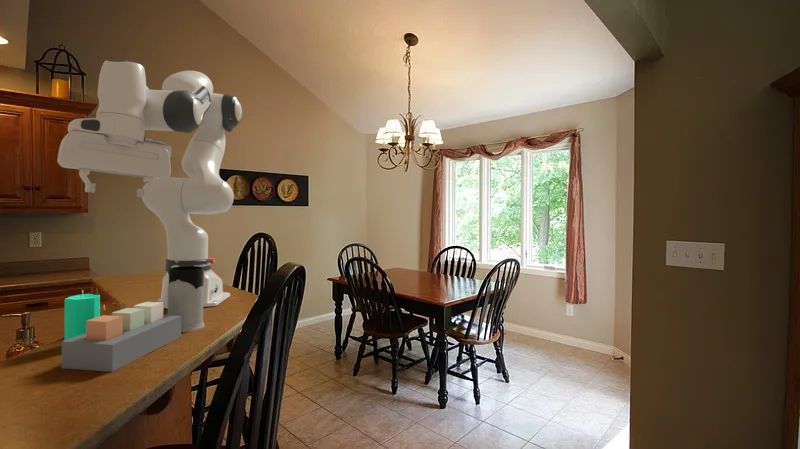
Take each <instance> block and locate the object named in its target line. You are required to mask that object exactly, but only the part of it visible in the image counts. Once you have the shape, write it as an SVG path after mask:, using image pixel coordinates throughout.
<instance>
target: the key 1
mask: <svg viewBox="0 0 800 449" xmlns="http://www.w3.org/2000/svg"><path fill="white" fill-rule="evenodd" d="M122 334H123V316H112V315H105V314H103V315H100V317H97V318H93V319H90V320H87V321H86V340H100V341H107V340H110V339H112V338H115V337H117V336H120V335H122Z"/></svg>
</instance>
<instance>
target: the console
mask: <svg viewBox="0 0 800 449" xmlns="http://www.w3.org/2000/svg"><path fill="white" fill-rule="evenodd" d="M181 337H182V333H181V316H172V315H168V314H167V315H166V314H163V318H162V319H160V320H157V321H155V322H152V323H144V326H142V327H140V328H137V329H135V330H132V331H123V334H122V335H120V336H117V337H115V338H112V339H110V340H107V341H100V340H86V333H85V334H82V335H79V336H76V337H73V338H70V339H68V340H65V339H64V340H63V341H61V369H67V370H68V369H69V370H81V371H82V370H83V371H96V372H97V371H98V372H112V373H113V372H114V371H115V372H116V371H117V370H119V369H121V368H124V367H125V366H126V365H129V364H131V363H133V362H134V361H136V360H139V359H140V358H142V357H145V356H146V354H147V355H149V354H150V352H151V353H152V351H153V352H154V350H155V351H157V350H158V348H159V349H161V348H162V346H163V347H164V345H165V346H166V344H167V345H169V344H171V343H172V342H174V341H177V340H178V339H180V338H181ZM160 347H161V348H160ZM156 349H157V350H156ZM148 353H149V354H148Z"/></svg>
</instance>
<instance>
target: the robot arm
mask: <svg viewBox="0 0 800 449" xmlns="http://www.w3.org/2000/svg"><path fill="white" fill-rule="evenodd" d="M97 98H98V109H97V110H96V114H95V117H88V118H86V117H84V118H83V117H82V118H75V119H73V120H71V121H70V122H69V123H68V125H67V132H68V133H67V134H66V135H64V137H63V138H62V139H61V142H60V145H59V148H58V154H57V164H58V165H59V166H60V167H61V168H64V169H72V170H78V175H79V177H80V179H81V180H82V182H83V183H84V192H85V193H95V192H96V185H97V184H96V183H92V182H91V181H90V179H89V177H88V176H89V175H91V174H90V172H96V173H104V174H113V175H120V176H121V175H122V176H128V177H136V178H143V183H145V184H144V185H143V187H142V188H137V190H136V197H139V198H141V199H142V202H143V204H144V205H145V207H146V208H148V210H149V211H151V212H152V213H154V215H155V216H156V217H158V219H159V221H161V224H162V226H163V228H164V230H165V234H166V244H167V245H166V246H167V247H166V248H167V250H166V251H167V258H166V259H165V263H164V265H165V272H166V273H165V274H164V276H163V278H162V283H161V285H162V286H161V292H160V298H159V299H157V302H163V309H167V310H168V285H169V269H170V268H173V267H181V266H198V267H203V270H204V287H203V308H206V307H207V308H208V307H216V306H218V305H220V304H221V303H222V302H224V301H225V300H227V299H228V298H230V297H231V293H230V292H227V291H224V290H223V289H224V287H223V286H224V284H223V279H222V278H221V277H219V275H217V274H216V273H215V272H214V271H213V270H212V265H215V263H216V259H215V258H214V257H209V235H208V233H207V232H206V231H205V230H204V229H203V228H202V227H200V226H198V225H196V224H195V223H193V221H192V219H191V218H190V215H217V214H222V213H227V212H228V211H229V210H230V209H231V208H232V205H233V203H234V199H235V198H234V197H235V196H234V195H235V194H234V191H233V189H232V187H231V186H230V184H229V183H228V182H227V181H225V180H223V179H222V178H221V176H220V171H221V170H220V169H221V165H222V163H223V162H222V161H223V158H224V155H225V151H226V145H227V144H226V143H227V141H226V140H227V139H226V134H225V133H226V132H227V133H231V132H232V131H233V129H235V128H236V127H237V126H238V125H239V123H240V122H241V120H242V116H243V108H242V104H241V101H240V100H239V99H238V98H237V97H236V96H234V95H231V94H228V93H225V94H222V93H217V92H214V84H213V83H212V80H211V79H210V78H209V76H207V75H206V74H204V73H203V72H200V71H196V70H182V71H178V72H176V73H175V72H174V73H172V74H171V75H169V76H167V77H166V78H165V80H164V81H163V83H162V86H161V89H150V88H149V87H148V85H147V77H146V69H145V66H143V65H142V64H140V63H138V62H135V61H132V60H127V59H119V58H117V59H114V58H109V59H106V60H105V61H104V62H103V64H102V66H101V68H100V72H99V76H98V85H97ZM146 131H158V132H177V133H186V134H192V133H193V132H195V131H196V132H195V133H194V134H193V136H192V137H191V139H190V140H189V144H187V147H186V149H185V152H184V154H183V156H182V159H181V167H182V171H183V172H184V173H185V175H187V176H188V177H176V176H175V177H173V176H172V177H171V174H172V167H171V165H172V164H171V157H172V151H173V150H172V146H171V145H170V144H169V143H168V142H166V141H165V140H163V139H156V138H152V137H146V136H145V132H146Z"/></svg>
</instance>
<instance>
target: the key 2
mask: <svg viewBox="0 0 800 449" xmlns="http://www.w3.org/2000/svg"><path fill="white" fill-rule="evenodd" d="M133 308H138V309H145V312H144V323H152V322H155V321H157V320H160V319H162V318H163V315H164V308H163V302H158V301H143V302H140V303H138V304H135V305H133Z"/></svg>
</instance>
